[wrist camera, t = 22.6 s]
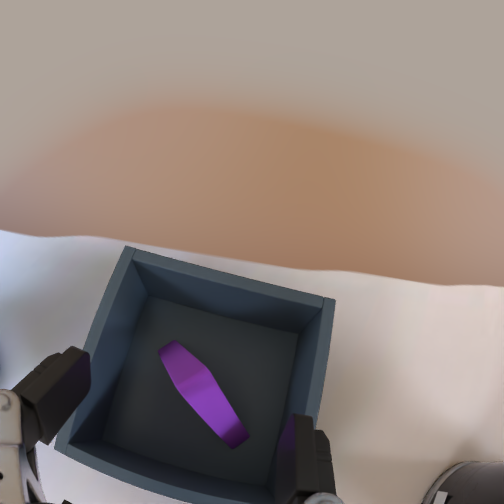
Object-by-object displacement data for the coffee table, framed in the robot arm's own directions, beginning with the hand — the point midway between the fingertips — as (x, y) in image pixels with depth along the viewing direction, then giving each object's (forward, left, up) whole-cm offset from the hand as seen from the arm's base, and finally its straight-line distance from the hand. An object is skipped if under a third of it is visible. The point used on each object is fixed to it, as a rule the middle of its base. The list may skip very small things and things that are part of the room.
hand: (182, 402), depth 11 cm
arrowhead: (0, -1, -11) cm, 11 cm away
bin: (0, -1, -12) cm, 12 cm away
